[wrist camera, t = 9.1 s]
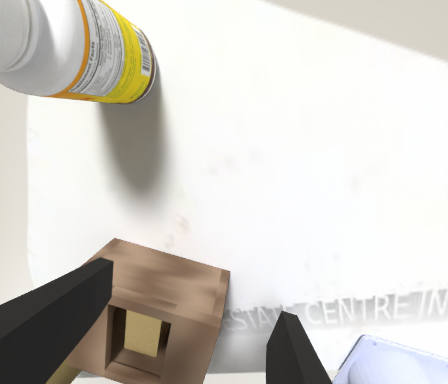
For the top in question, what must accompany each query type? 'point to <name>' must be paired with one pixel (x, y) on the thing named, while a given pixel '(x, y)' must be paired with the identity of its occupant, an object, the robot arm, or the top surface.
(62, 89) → the supplement bottle
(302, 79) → the top surface
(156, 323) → the block
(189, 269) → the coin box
